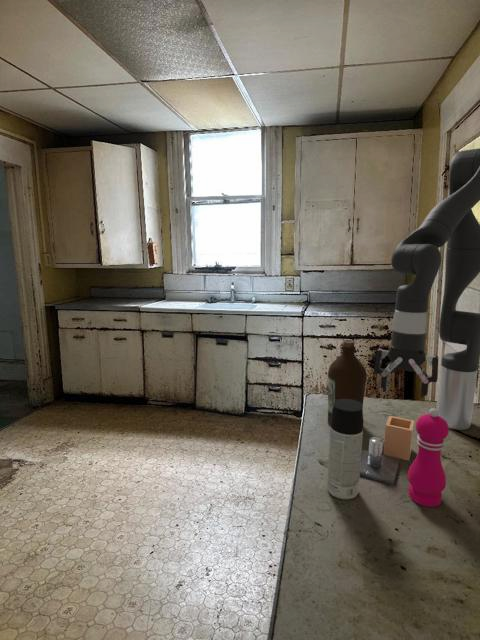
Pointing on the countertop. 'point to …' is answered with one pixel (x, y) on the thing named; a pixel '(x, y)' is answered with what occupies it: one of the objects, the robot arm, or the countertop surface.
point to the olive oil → (346, 377)
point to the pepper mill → (428, 460)
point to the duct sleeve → (398, 437)
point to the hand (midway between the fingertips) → (403, 393)
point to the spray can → (345, 448)
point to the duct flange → (378, 463)
